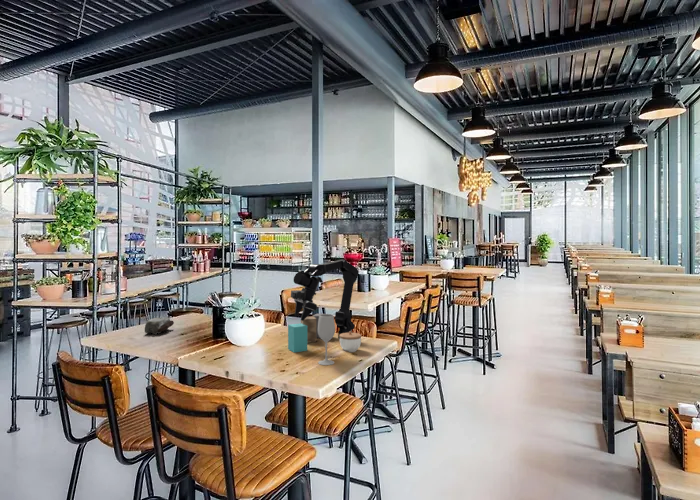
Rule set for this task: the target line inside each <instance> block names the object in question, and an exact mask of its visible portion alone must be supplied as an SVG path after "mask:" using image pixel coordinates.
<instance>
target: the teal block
mask: <svg viewBox="0 0 700 500" xmlns="http://www.w3.org/2000/svg"><path fill="white" fill-rule="evenodd" d="M287 341H288V342H287V349H288V350H289V351H291V352H293V353H301V352H308V342H307V325H304V324H302V323H301V322H299V323H291V324H287Z"/></svg>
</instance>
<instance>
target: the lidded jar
mask: <svg viewBox="0 0 700 500" xmlns="http://www.w3.org/2000/svg"><path fill="white" fill-rule="evenodd" d="M339 337H340V339H339V345H340V347H341V349H342V350H344V351H346V352H349V353H355V352H357V350H359V348H360V347H361V344H362V343H361V342H362V334H360V333H358V332H352V333H351V331H349V333H342V334H340V335H339Z"/></svg>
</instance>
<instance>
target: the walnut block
mask: <svg viewBox="0 0 700 500" xmlns="http://www.w3.org/2000/svg"><path fill="white" fill-rule="evenodd" d="M300 323H302V324H304V325H307V343H313V342H314V343H315V342H317V338H316V318H315V317H314V316H313V315H312V316H307V317H306V318H305V319H304V320H303V321H302V320H301V319H300Z"/></svg>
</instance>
